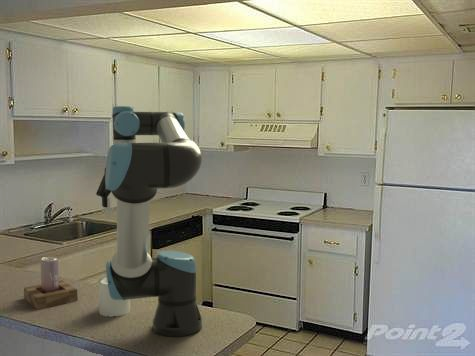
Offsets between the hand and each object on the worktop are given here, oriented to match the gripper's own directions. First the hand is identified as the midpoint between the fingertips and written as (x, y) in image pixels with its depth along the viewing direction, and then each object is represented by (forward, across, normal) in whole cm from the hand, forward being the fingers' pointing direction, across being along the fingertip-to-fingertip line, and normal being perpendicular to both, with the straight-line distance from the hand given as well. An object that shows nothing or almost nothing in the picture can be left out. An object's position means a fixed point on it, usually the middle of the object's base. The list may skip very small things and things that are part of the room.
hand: (126, 214), depth 176 cm
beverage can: (+32, +19, -22) cm, 43 cm away
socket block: (+32, +19, -22) cm, 43 cm away
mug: (+32, +6, +2) cm, 33 cm away
